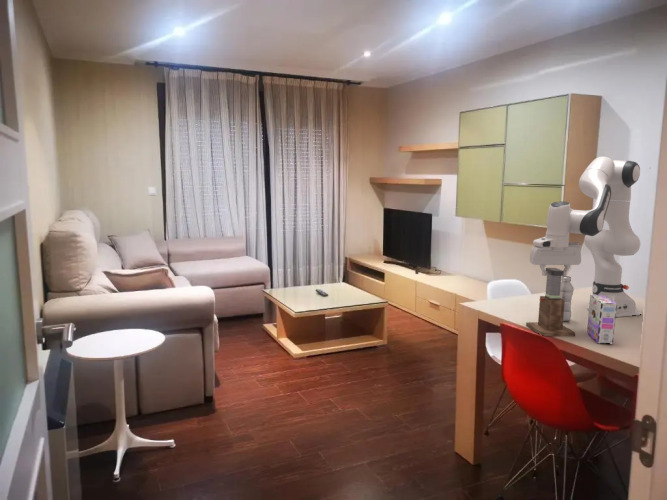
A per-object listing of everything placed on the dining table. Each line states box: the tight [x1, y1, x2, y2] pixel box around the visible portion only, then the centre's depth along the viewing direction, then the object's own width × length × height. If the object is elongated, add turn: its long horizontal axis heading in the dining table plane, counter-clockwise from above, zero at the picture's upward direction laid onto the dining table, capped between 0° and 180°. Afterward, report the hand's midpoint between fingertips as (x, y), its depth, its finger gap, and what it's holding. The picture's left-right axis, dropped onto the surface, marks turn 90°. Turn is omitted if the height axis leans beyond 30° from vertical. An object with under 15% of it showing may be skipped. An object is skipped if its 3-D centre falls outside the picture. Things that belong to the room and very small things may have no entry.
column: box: [544, 267, 564, 300], centre depth 208 cm, size 4×7×18 cm, turn 4°
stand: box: [525, 295, 576, 337], centre depth 209 cm, size 14×14×14 cm
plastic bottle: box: [560, 275, 575, 322], centre depth 223 cm, size 6×7×20 cm
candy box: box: [586, 294, 617, 344], centre depth 200 cm, size 14×6×16 cm, turn 170°
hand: (554, 275), depth 207 cm, fingers open, 7 cm apart
